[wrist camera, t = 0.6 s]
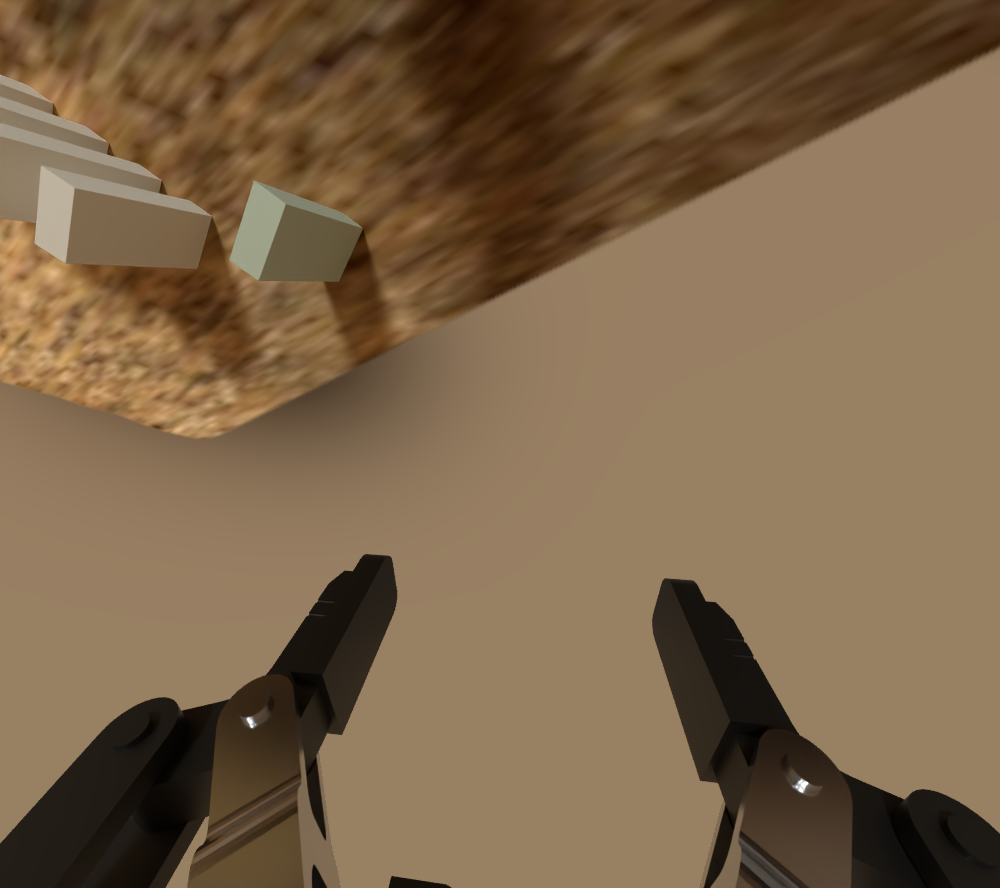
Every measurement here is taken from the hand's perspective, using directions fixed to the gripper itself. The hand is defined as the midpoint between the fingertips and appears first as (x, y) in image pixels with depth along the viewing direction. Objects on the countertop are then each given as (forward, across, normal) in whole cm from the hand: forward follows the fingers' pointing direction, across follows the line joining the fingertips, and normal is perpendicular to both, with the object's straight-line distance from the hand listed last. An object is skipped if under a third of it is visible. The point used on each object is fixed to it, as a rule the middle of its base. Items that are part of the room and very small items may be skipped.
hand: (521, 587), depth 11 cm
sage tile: (+26, +17, -10) cm, 32 cm away
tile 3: (+26, +34, -14) cm, 45 cm away
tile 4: (+26, +30, -11) cm, 41 cm away
